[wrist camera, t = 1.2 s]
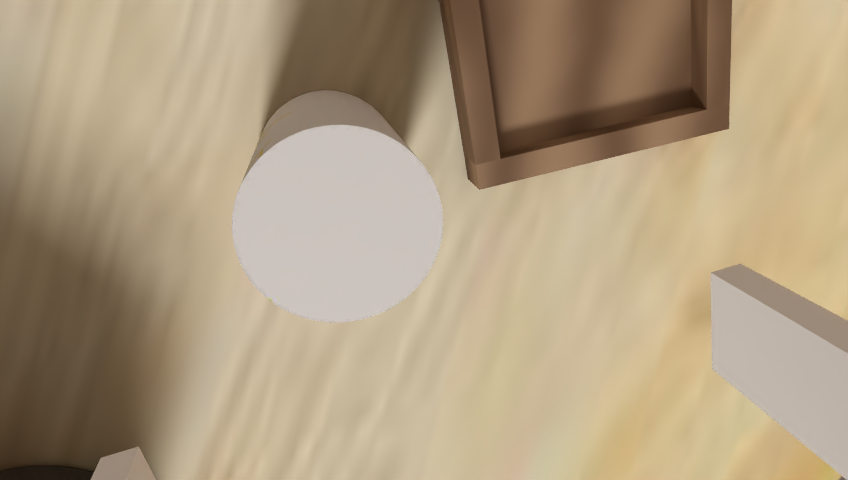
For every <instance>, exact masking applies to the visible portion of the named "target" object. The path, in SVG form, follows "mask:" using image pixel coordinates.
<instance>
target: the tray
mask: <svg viewBox="0 0 848 480" xmlns="http://www.w3.org/2000/svg"><path fill="white" fill-rule="evenodd" d="M439 3H440V10H441V16H442V22H443V28H444V34H445V40H446V46H447V53H448V59H449V65H450V71H451V77H452V83H453V89H454V96H455V102H456V108H457V114H458V120H459V126H460V132H461V139H462V145H463V151H464V157H465V163H466V169H467V175H468V179H469V180H470V181H471V182H472V183H473V184H474V185H475V186H476V187H477V188H478V189H479V190H480V189H484V188H488V187H492V186H496V185H501V184H505V183H509V182H513V181H517V180H521V179H525V178H529V177H533V176H537V175H541V174H546V173H550V172H554V171H558V170H562V169H566V168H570V167H574V166H578V165H582V164H586V163H591V162H595V161H599V160H603V159H607V158H611V157H615V156H619V155H623V154H627V153H631V152H636V151H640V150H644V149H648V148H652V147H656V146H660V145H664V144H668V143H672V142H676V141H681V140H685V139H689V138H693V137H697V136H701V135H705V134H709V133H713V132H717V131H721V130H726V129H729V102H730V59H731V17H732V0H439Z"/></svg>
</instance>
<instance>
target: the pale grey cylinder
mask: <svg viewBox="0 0 848 480" xmlns="http://www.w3.org/2000/svg"><path fill="white" fill-rule="evenodd" d="M442 232H443V212H442V205H441V201H440V197H439V193H438V190H437V188H436V186H435V183H434V181H433V179H432V177H431V176H430V174H429V172H428V171H427V169H426V168H425V166H424V165H423V164H422V163H421V161H420V160H419V159H418V158H417V157H416V155H415V154H414V153H413V152H412V151H411V150H410V148H409V147H408V146H407V145H406V144H405V143H404V141H403V140H402V139H401V138H400V137H399V135H398V134H397V133H396V132H395V131H394V130H393V128H392V127H391V126H390V125H389V124H388V122H387V121H386V120H385V119H384V118H383V117H382V115H381V114H380V113H379V112H378V111H377V110H376V109H375V108H374V107H372V106H371V105H370V104H368V103H367V102H365V101H364V100H362V99H360V98H358V97H356V96H354V95H351V94H348V93H344V92H340V91H332V90H321V91H313V92H309V93H305V94H302V95H300V96H297V97H295V98H293V99H291V100H290V101H288V102H287V103H285V104H284V105H283V106H281V107H280V108H279V109H278V110H277V111H276V112H275V113H274V114H273V115H272V117H271V118H270V119H269V121H268V122H267V124H266V126H265V128H264V130H263V132H262V134H261V137H260V139H259V142H258V144H257V147H256V149H255V151H254V154H253V156H252V159H251V161H250V164H249V166H248V169H247V171H246V174H245V176H244V179H243V181H242V184H241V186H240V188H239V191H238V194H237V197H236V200H235V204H234V209H233V216H232V234H233V241H234V246H235V250H236V253H237V256H238V259H239V261H240V264H241V266H242V268H243V270H244V271H245V273H246V275H247V276H248V278H249V279H250V281H251V282H252V283H253V284H254V286H255V287H256V288H257V289H258V290H259V291H260V292H261V293H262V294H263V295H264V296H265V297H266V298H268V299H269V300H270V301H271V302H273V303H274V304H276V305H277V306H279V307H280V308H282V309H284V310H286V311H288V312H290V313H292V314H295V315H297V316H300V317H303V318H307V319H310V320H316V321H322V322H350V321H357V320H361V319H365V318H369V317H372V316H375V315H377V314H380V313H382V312H384V311H386V310H388V309H390V308H392V307H394V306H395V305H397V304H398V303H400V302H401V301H402V300H404V299H405V298H406V297H408V296H409V295H410V294H411V293H412V292H413V291H414V290H415V289H416V288H417V287H418V286H419V285H420V283H421V282H422V281H423V280H424V278H425V277H426V275H427V274H428V272H429V271H430V269H431V267H432V265H433V263H434V261H435V259H436V257H437V254H438V251H439V248H440V244H441V239H442Z"/></svg>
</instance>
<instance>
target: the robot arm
mask: <svg viewBox="0 0 848 480" xmlns="http://www.w3.org/2000/svg"><path fill="white" fill-rule="evenodd" d="M711 322H712V369H713V370H714V371H715V372H716V373H718V374H719V375H720V376H721V377H722V378H724V379H725V380H726V381H727V382H729V383H730V384H731V385H732V386H733V387H735V388H736V389H737V390H738V391H739V392H741V393H742V394H743V395H744V396H746V397H747V398H748V399H749V400H750V401H752V402H753V403H754V404H755V405H756V406H758V407H759V408H760V409H761V410H763V411H764V412H765V413H766V414H767V415H769V416H770V417H771V418H772V419H774V420H775V421H776V422H777V423H778V424H780V425H781V426H782V427H783V428H784V429H786V430H787V431H788V432H789V433H791V434H792V435H793V436H794V437H795V438H797V439H798V440H799V441H800V442H801V443H803V444H804V445H805V446H806V447H808V448H809V449H810V450H811V451H812V452H814V453H815V454H816V455H817V456H818V457H820V458H821V459H822V460H823V461H825V462H826V463H827V464H828V465H829V466H831V467H832V468H833V469H834V470H836V471H837V472H838V473H839V474H840V475H842V476H843V477H844V478H845V479H846V480H848V321H847V320H845V319H843V318H842V317H840V316H838V315H836V314H834V313H832V312H830V311H828V310H827V309H825V308H823V307H821V306H819V305H817V304H815V303H813V302H811V301H810V300H808V299H806V298H804V297H802V296H800V295H798V294H796V293H795V292H793V291H791V290H789V289H787V288H785V287H783V286H781V285H779V284H778V283H776V282H774V281H772V280H770V279H768V278H766V277H764V276H763V275H761V274H759V273H757V272H755V271H753V270H751V269H749V268H747V267H746V266H744V265H742V264H738V265H734V266H731V267H728V268H724V269H721V270H718V271H715V272H711ZM0 480H156V478H155V477H154V475H153V473H152V471H151V469H150V467H149V465H148V463H147V461H146V459H145V457H144V456H143V454H142V452H141V450H140V448H139V446H138V447H135V448H132V449H128V450H125V451H122V452H118V453H115V454H112V455H109V456H105V457H102V458H100V461H99V463H98V465H97V467H96V469H95V471H94V473H93V472H89V471H85V470H80V469H75V468H68V467H58V466H33V467H22V468H15V469H10V470H5V471H1V472H0Z"/></svg>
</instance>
